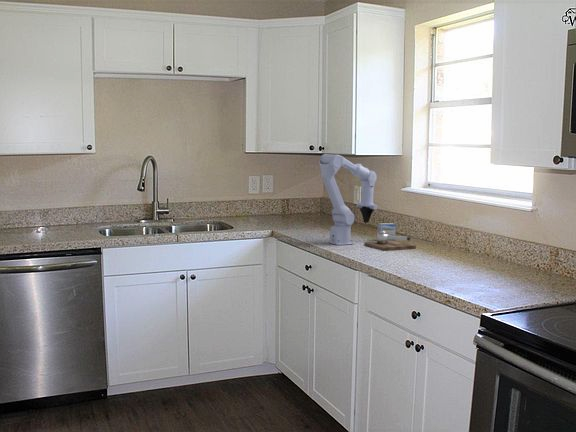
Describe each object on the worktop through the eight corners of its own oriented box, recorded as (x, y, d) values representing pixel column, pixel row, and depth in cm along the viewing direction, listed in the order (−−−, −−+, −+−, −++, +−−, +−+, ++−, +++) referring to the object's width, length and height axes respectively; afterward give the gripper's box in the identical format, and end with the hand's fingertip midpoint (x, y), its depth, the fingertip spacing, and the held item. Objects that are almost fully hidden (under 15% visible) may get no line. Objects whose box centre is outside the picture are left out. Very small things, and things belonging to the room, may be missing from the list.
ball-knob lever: (376, 243, 310) (377, 231, 309) (377, 242, 315) (377, 230, 314) (410, 245, 307) (410, 233, 306) (410, 244, 311) (411, 232, 311)
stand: (384, 250, 300) (385, 247, 300) (364, 245, 314) (364, 241, 314) (415, 248, 309) (415, 245, 309) (394, 243, 323) (394, 239, 323)
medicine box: (380, 241, 327) (381, 224, 326) (376, 240, 331) (377, 223, 330) (394, 241, 329) (395, 224, 328) (391, 239, 333) (392, 222, 332)
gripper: (383, 196, 319) (381, 224, 321) (365, 193, 332) (364, 220, 333) (370, 196, 316) (369, 224, 318) (353, 193, 329) (352, 220, 330)
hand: (366, 222), depth 325 cm, fingers closed
